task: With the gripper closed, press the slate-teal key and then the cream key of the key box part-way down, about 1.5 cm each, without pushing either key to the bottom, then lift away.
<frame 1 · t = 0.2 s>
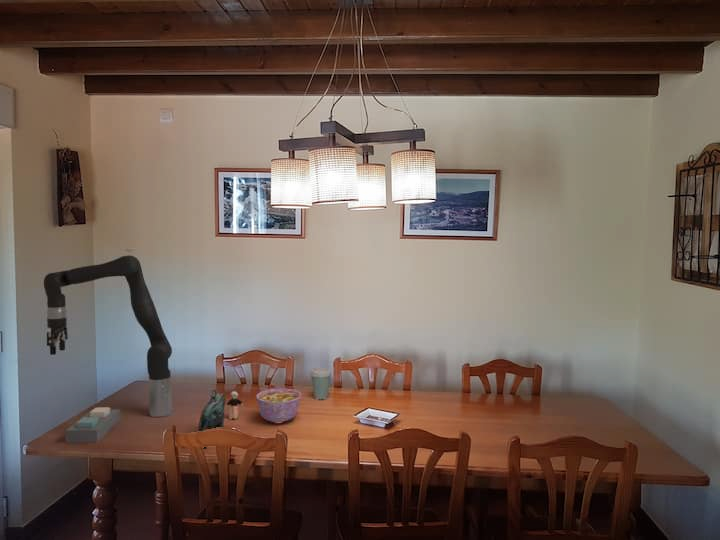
hand: (57, 352, 234), 29 cm above the table, tool pointing down, fingers open, 8 cm apart
grandmother figurine: (234, 419, 236), on the table
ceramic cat: (213, 439, 213), on the table
bowl of food: (278, 420, 236), on the table
cream key: (100, 413, 224), point 6 cm above the table, slide at 0.0 cm
disposable coffee cup: (320, 398, 267), on the table
teal key: (87, 423, 213), point 5 cm above the table, slide at 0.0 cm
key box: (94, 430, 219), on the table
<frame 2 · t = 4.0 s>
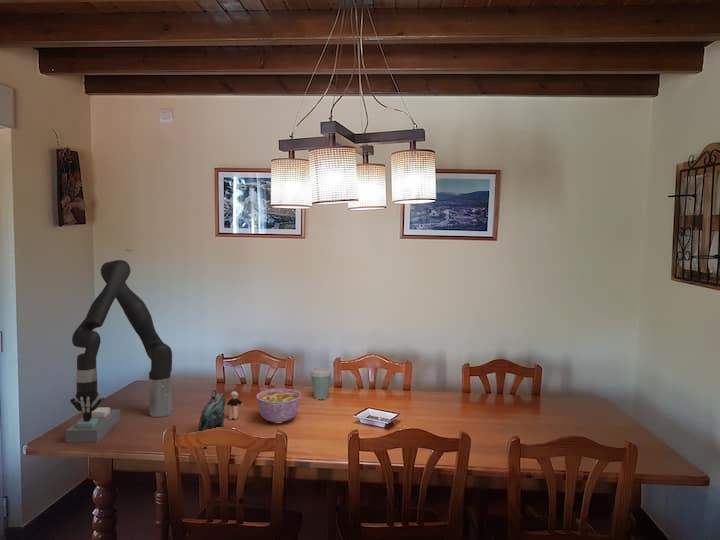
hand: (87, 420, 212), 7 cm above the table, tool pointing down, fingers closed
teal key: (87, 424, 213), point 5 cm above the table, slide at 0.4 cm, touching gripper
everything else where it was.
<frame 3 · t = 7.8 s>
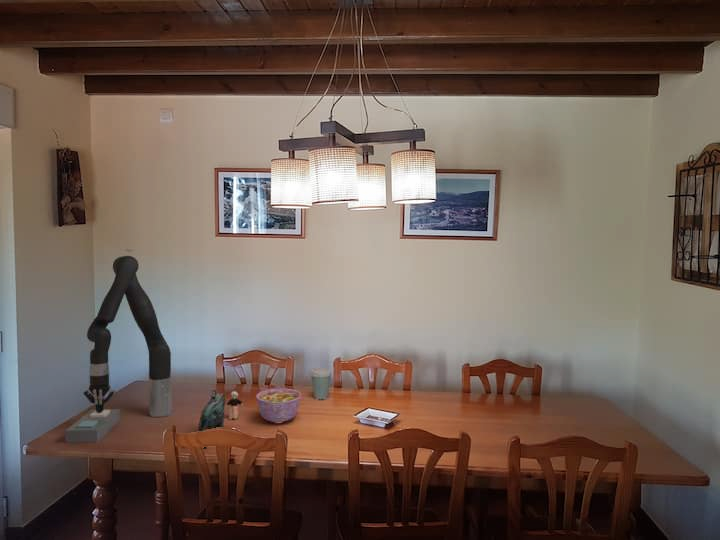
hand: (99, 412, 225), 6 cm above the table, tool pointing down, fingers closed
cream key: (100, 415, 225), point 4 cm above the table, slide at 1.1 cm, touching gripper
teal key: (87, 426, 213), point 4 cm above the table, slide at 1.5 cm
everything else where it was.
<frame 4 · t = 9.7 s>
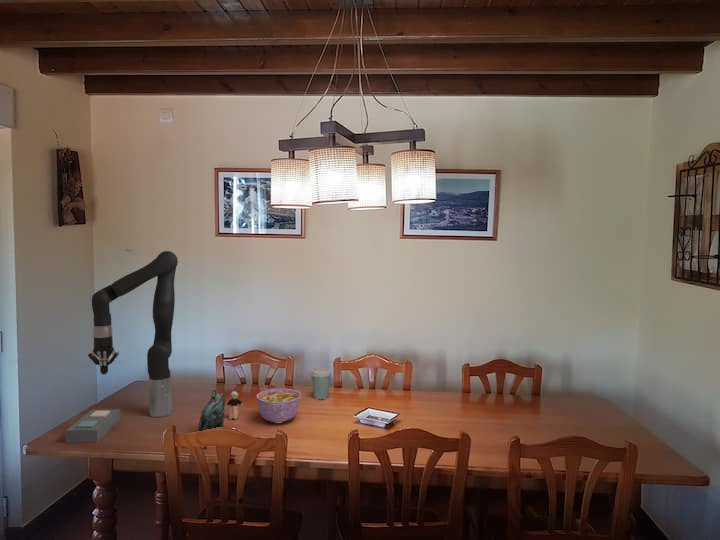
hand: (104, 373, 231), 21 cm above the table, tool pointing down, fingers closed
cream key: (100, 416, 225), point 4 cm above the table, slide at 1.5 cm
everything else where it was.
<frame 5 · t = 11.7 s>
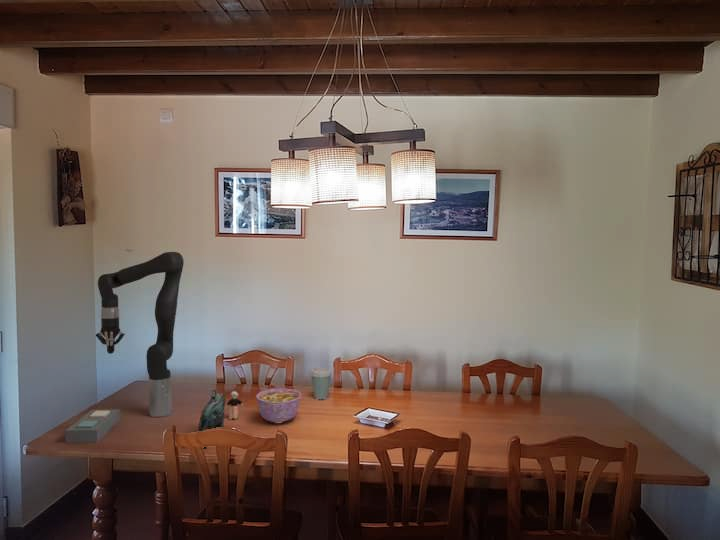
hand: (110, 353, 242), 27 cm above the table, tool pointing down, fingers closed
nothing on the table moved.
at the end: teal key slide at 1.5 cm; cream key slide at 1.5 cm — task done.
